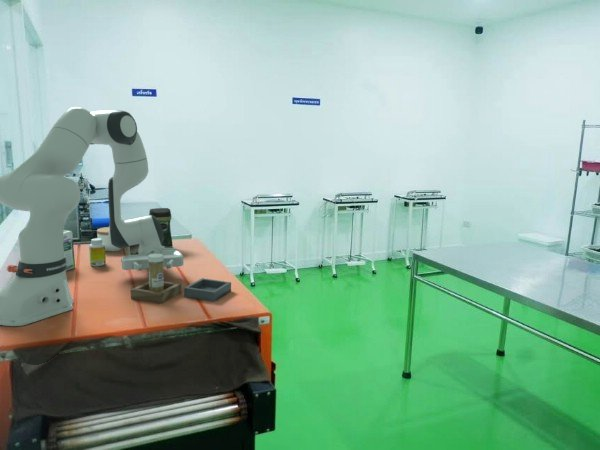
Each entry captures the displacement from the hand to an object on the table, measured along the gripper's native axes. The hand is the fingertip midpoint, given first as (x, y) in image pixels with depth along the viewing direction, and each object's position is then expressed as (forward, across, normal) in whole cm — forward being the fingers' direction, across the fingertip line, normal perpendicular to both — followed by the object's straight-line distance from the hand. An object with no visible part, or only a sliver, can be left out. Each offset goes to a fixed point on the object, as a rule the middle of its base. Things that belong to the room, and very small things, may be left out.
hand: (154, 267), depth 150 cm
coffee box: (-39, -5, +8) cm, 40 cm away
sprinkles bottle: (+7, 0, +8) cm, 11 cm away
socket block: (+7, 0, +7) cm, 10 cm away
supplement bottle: (-35, -19, +8) cm, 41 cm away
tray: (+10, +16, +7) cm, 20 cm away
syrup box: (-32, -31, +8) cm, 45 cm away
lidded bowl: (-60, -14, +8) cm, 62 cm away
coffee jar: (-56, +6, +8) cm, 57 cm away
